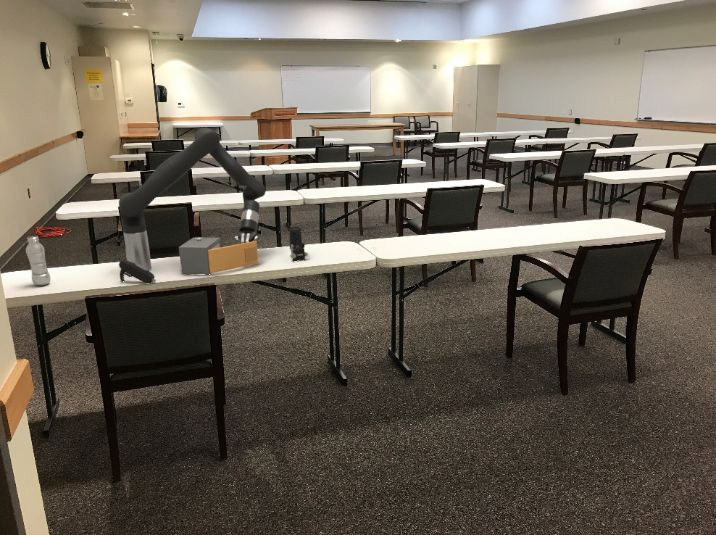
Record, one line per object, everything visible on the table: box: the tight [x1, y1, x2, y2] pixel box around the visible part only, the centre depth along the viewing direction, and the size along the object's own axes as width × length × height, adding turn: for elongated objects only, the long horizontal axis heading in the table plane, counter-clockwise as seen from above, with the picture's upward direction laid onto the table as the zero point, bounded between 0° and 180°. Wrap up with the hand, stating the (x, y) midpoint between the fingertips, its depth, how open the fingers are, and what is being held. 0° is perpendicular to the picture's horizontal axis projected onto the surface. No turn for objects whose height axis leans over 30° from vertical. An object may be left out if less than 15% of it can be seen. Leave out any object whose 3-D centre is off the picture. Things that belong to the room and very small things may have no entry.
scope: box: [288, 226, 309, 263], centre depth 253 cm, size 8×14×10 cm
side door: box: [208, 240, 259, 275], centre depth 237 cm, size 2×22×10 cm, turn 127°
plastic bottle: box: [25, 235, 51, 286], centre depth 223 cm, size 6×7×20 cm
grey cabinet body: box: [178, 236, 222, 276], centre depth 240 cm, size 14×16×13 cm
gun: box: [118, 259, 157, 284], centre depth 226 cm, size 3×16×10 cm, turn 79°
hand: (243, 257), depth 242 cm, fingers closed
